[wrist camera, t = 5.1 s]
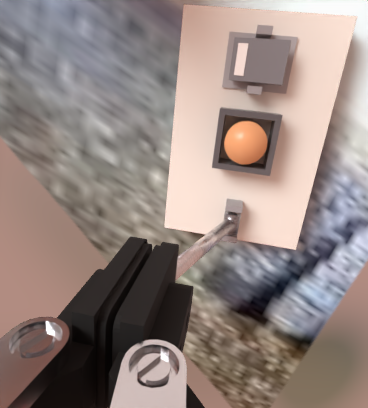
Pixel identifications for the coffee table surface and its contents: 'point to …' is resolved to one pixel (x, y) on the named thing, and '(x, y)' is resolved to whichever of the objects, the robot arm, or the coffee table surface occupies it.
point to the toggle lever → (208, 242)
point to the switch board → (255, 111)
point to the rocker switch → (259, 60)
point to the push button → (245, 142)
